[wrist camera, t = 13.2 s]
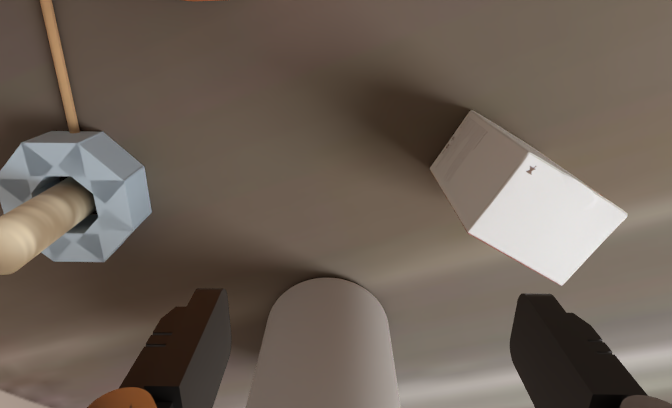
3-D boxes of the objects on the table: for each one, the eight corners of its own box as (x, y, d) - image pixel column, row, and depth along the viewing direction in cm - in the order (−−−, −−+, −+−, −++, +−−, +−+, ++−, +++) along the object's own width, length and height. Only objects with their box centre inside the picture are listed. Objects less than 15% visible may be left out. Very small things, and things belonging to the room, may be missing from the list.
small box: (427, 168, 40) (463, 232, 28) (470, 107, 38) (529, 148, 26) (499, 211, 42) (563, 289, 30) (544, 154, 39) (633, 213, 27)
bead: (15, 130, 39) (-19, 141, 35) (139, 131, 39) (117, 142, 35) (45, 240, 43) (17, 261, 40) (157, 242, 43) (139, 263, 40)
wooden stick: (23, -90, 33) (16, -93, 32) (34, -90, 33) (27, -93, 32) (73, 134, 39) (68, 136, 38) (82, 134, 39) (77, 136, 38)
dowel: (65, 170, 41) (-40, 227, 29) (104, 170, 40) (15, 228, 29) (73, 206, 42) (-23, 274, 31) (111, 207, 42) (28, 275, 31)
